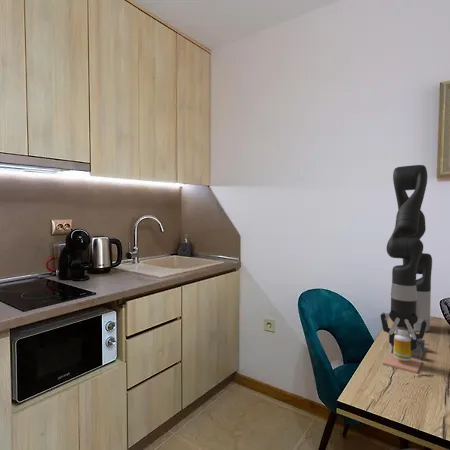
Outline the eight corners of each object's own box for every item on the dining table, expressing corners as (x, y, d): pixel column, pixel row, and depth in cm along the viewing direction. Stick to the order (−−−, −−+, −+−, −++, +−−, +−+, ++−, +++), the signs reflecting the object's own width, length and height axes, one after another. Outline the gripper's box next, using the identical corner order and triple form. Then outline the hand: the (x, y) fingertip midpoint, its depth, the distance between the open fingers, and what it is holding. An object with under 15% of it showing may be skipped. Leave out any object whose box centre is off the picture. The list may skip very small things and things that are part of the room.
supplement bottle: (413, 362, 105) (414, 332, 105) (395, 359, 107) (395, 330, 106) (409, 355, 110) (410, 327, 110) (392, 353, 112) (392, 325, 111)
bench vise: (400, 338, 130) (400, 330, 130) (427, 344, 124) (427, 335, 124) (391, 353, 116) (391, 343, 116) (420, 360, 111) (420, 350, 111)
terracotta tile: (389, 354, 115) (389, 352, 115) (421, 362, 109) (421, 360, 109) (382, 364, 108) (382, 362, 107) (417, 373, 101) (417, 371, 101)
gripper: (430, 298, 106) (429, 349, 107) (382, 291, 115) (382, 338, 116) (427, 303, 100) (426, 357, 101) (377, 296, 109) (376, 345, 110)
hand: (402, 347), depth 108 cm, fingers closed on supplement bottle, 5 cm apart
